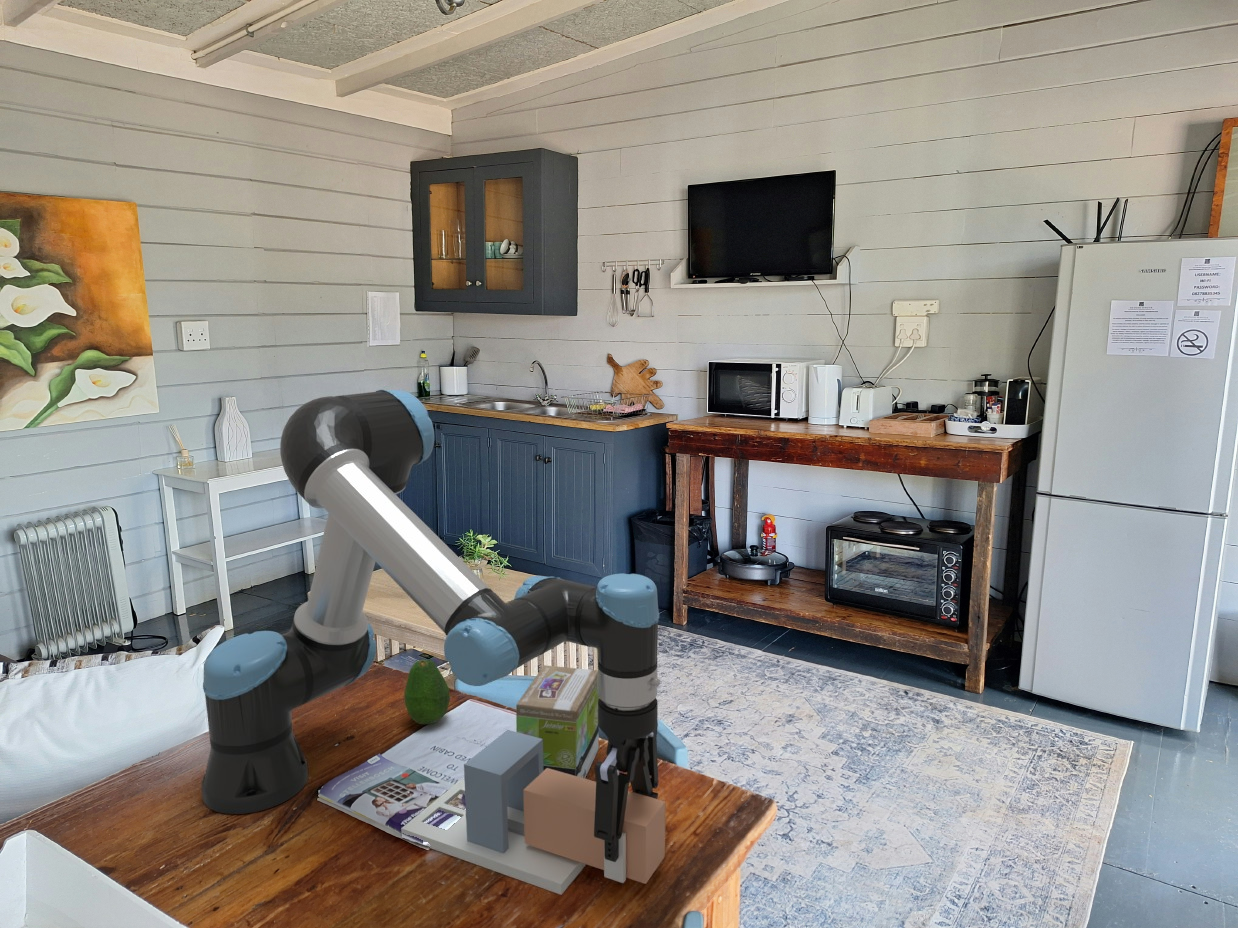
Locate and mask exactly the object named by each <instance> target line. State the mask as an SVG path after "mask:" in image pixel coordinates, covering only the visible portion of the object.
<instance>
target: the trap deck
mask: <svg viewBox="0 0 1238 928" xmlns="http://www.w3.org/2000/svg"><path fill="white" fill-rule="evenodd" d="M463 771H464V772H463V773H464V775H463V776H464V777H463V778H461V779H460V780H459V781H458V782H456V783H455V784H454V785H452V787H450V788H448V790H447V791H445V792H444V793H443V794H441V795H440V796H439V797H438V798H436V799H435V800H434V801H433V802H432V803H430V804H429V805H428V806H427V807H426V808H424V809H423V810H422V811H420V812H419V813H418V814H417V815H416V816H415V817H413V818H412V819H411V820H410V821H408V822H407V823H405V825H404V826H402V827H401V828H400V830H401V834H402V833H404V834H406V835H410V836H414V837H417V838H419V839H421V840H423V841H424V842H428V843H429V844H430V845H431V846H430V848H429V849H432V850H434V851H437V852H440V853H442V854H446V855H448V856H452V857H454V858H456V859H460V860H463V861H466V862H468V863H471V864H473V865H477V866H480V867H481V868H485V869H488V870H490V871H493V872H496V873H499V874H502V875H504V876H508V877H509V878H513V879H515V880H519V881H520V882H521V881H522V882H524V883H527V884H530V885H532V886H535V887H538V888H541V889H544V890H546V891H550V892H553V893H554V894H555V893H556V894H558V895H560V896H561V895H563V894H564V892H565V891H566V890H567V889H568V888H569V886H570V885H571V884H572V883H573V881H574V880H575V879H576V878H577V876H578V875H579V874H580V873H581V872H582V871H583V869H584V868H585V867H586V865H587V864H584V863H581V862H578V861H575V860H572V859H569V858H566V857H563V856H560V855H557V854H554V853H551V852H548V851H545V850H542V849H539V848H536V847H533V846H530V845H527V844H525V834H524V796H523V790H524V789H525V788H526V787H527V786H528V785H529V784H530V783H531V782H532V781H533V780H534V779H536V778H537V777H538V776H539V775H540V774H541V773H542V772H543V739H541V738H537V737H533V736H529V735H526V734H522V733H518V732H516V731H513V730H510V729H506V730H505V731H504V732H503V733H502V734H500V735H499V736H498V737H496V738H495V739H494V740H492V742H490V743H489V744H488V745H486V746H485V747H484V748H482V749H481V750H480V751H479V752H478V753H476V754H475V755H474V756H472V757H471V758H470V759H469V760H467V761H466V762H465V763H464V764H463ZM459 794H464V795H465V803H466V810H463V809H460V808H457V807H454V806H451V805H448V803H449V802H450V801H452V800H453V799H454V798H455V797H457V796H458V795H459ZM438 810H441V811H444V812H447V813H450V814H453V815H457V816H460V817H461V818H460V819H459V820H458V821H457V822H456V823H454V824H453V825H452V826H451V827H450V828H449V829H448V830H445V829H442V828H439V827H436V826H433V825H430V824H427V823H424V821H426V820H427V819H428V818H430V817H431V816H432V815H434V814H435V813H436V812H437V811H438Z"/></svg>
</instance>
